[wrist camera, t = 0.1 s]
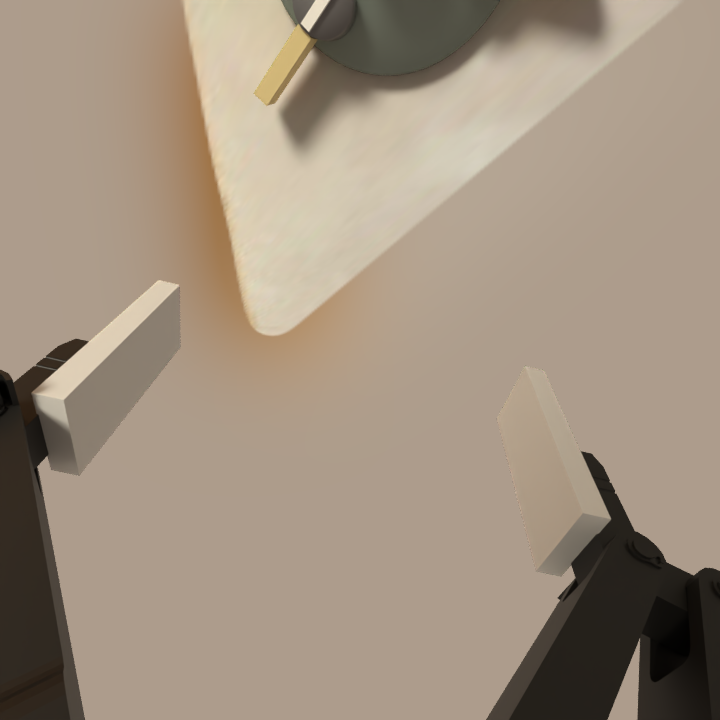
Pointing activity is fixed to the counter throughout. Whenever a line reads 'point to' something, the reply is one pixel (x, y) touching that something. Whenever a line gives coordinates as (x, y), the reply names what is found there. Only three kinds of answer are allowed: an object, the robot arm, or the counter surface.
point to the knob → (306, 41)
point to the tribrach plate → (404, 33)
